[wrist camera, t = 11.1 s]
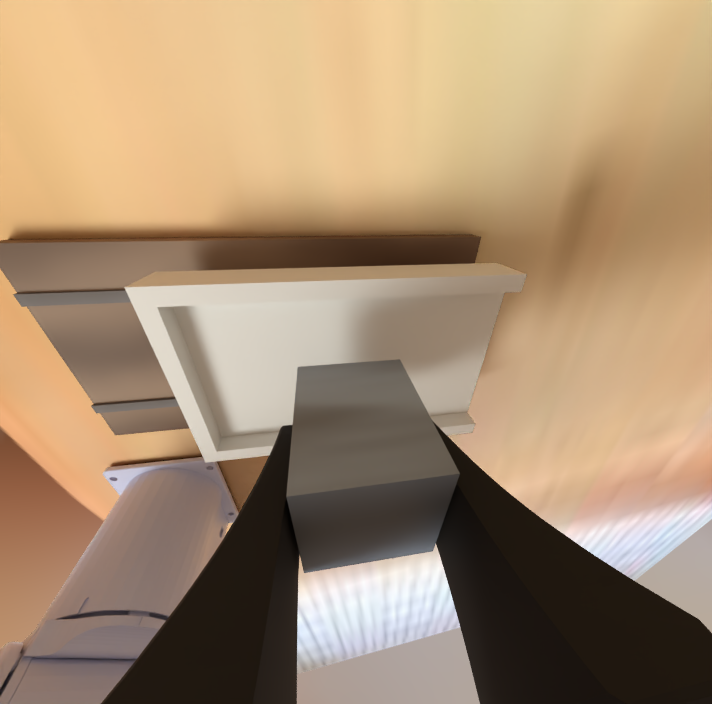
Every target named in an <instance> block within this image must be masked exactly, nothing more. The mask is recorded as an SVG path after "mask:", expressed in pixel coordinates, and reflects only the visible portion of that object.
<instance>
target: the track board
mask: <svg viewBox="0 0 712 704" xmlns="http://www.w3.org/2000/svg"><path fill="white" fill-rule="evenodd" d="M480 239H481V237H479V236H475V235H391V236H303V237H214V238H125V239H37V240H2V241H0V269H1V270H2V271H3V273H4V274H5V276H6V277H7V279H8V280H9V282H10V283H11V285H12V286H13V287H14V289H15V290H16V292H17V293H16V294H13V295H14V296H15V298H16V299H17V301H18V302H19V303H20V305H21V306H22V307H25V306H27V308H28V309H29V311H30V312H31V314H32V315H33V316H34V318H35V319H36V321H37V322H38V324H39V325H40V327H41V328H42V330H43V331H44V332H45V334H46V335H47V337H48V338H49V340H50V341H51V343H52V344H53V346H54V347H55V348H56V350H57V351H58V353H59V354H60V356H61V357H62V359H63V360H64V361H65V363H66V364H67V366H68V367H69V369H70V370H71V372H72V373H73V375H74V376H75V377H76V379H77V380H78V382H79V383H80V385H81V386H82V388H83V389H84V391H85V392H86V393H87V395H88V396H89V398H90V399H91V401H92V402H93V405H92V408H93V409H94V411H95V412H96V413H100V414H101V415H102V417H103V418H104V420H105V421H106V422H107V424H108V425H109V427H110V428H111V430H112V431H113V433H114V434H115V435H123V434H133V433H144V432H154V431H165V430H175V429H186V428H189V426H188V424H187V421H186V419H185V417H184V415H183V413H182V411H181V409H180V406H179V404H178V402H177V400H176V398H175V396H174V393H173V391H172V389H171V387H170V385H169V383H168V380H167V378H166V376H165V374H164V372H163V370H162V368H161V365H160V363H159V361H158V359H157V357H156V355H155V352H154V350H153V348H152V346H151V344H150V342H149V339H148V337H147V335H146V333H145V331H144V329H143V327H142V324H141V322H140V320H139V318H138V316H137V314H136V311H135V309H134V307H133V305H132V303H131V301H130V298H129V296H128V294H127V292H126V290H125V288H124V287H126V286H128V285H130V284H132V283H134V282H136V281H138V280H140V279H142V278H144V277H146V276H148V275H150V274H152V273H154V272H164V271H203V270H241V269H280V268H318V267H357V266H395V265H434V264H472V263H475V260H476V256H477V252H478V247H479V243H480Z"/></svg>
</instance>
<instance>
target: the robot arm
mask: <svg viewBox="0 0 712 704" xmlns="http://www.w3.org/2000/svg"><path fill="white" fill-rule="evenodd" d="M433 423H434V422H433ZM434 425H435V427H436V429H437V431H438V433H439V435H440V437H441V438H442V440H443V442H444V444H445V446H446V448H447V450H448V452H449V454H450V456H451V457H452V459H453V461H454V463H455V465H456V467H457V469H458V471H459V473H460V475H459V478H458V481H457V484H456V487H455V489H454V492H453V495H452V498H451V501H450V504H449V506H448V509H447V512H446V515H445V518H444V521H443V524H442V526H441V529H440V532H439V535H438V538H437V541H436V545H437V548H438V551H439V554H440V557H441V560H442V564H443V567H444V570H445V574H446V577H447V580H448V584H449V587H450V591H451V594H452V598H453V602H454V605H455V609H456V612H457V616H458V619H459V623H460V627H461V631H462V634H463V638H464V642H465V645H466V650H467V653H468V657H469V661H470V665H471V668H472V673H473V677H474V681H475V685H476V689H477V693H478V697H479V701H480V704H712V633H711V632H710V631H709V630H708V629H707V627H706V626H705V625H704V624H703V623H702V622H701V621H700V620H699V619H697V618H696V617H694V616H692V615H691V614H689V613H687V612H685V611H684V610H682V609H680V608H679V607H677V606H675V605H674V604H672V603H670V602H669V601H667V600H665V599H664V598H662V597H660V596H659V595H657V594H655V593H654V592H652V591H650V590H649V589H647V588H645V587H643V586H642V585H640V584H638V583H637V582H635V581H633V580H632V579H630V578H629V577H627V576H625V575H624V574H622V573H621V572H619V571H618V570H616V569H615V568H613V567H611V566H610V565H608V564H607V563H605V562H604V561H602V560H601V559H599V558H597V557H596V556H594V555H593V554H591V553H590V552H588V551H587V550H585V549H584V548H582V547H581V546H580V545H578V544H577V543H575V542H574V541H572V540H571V539H570V538H568V537H567V536H565V535H564V534H563V533H561V532H560V531H558V530H557V529H555V528H554V527H553V526H551V525H550V524H548V523H547V522H545V521H544V520H543V519H541V518H540V517H539V516H537V515H536V514H535V513H533V512H532V511H531V510H529V509H528V508H527V507H526V506H524V505H523V504H522V503H521V502H519V501H518V500H517V499H516V498H514V497H513V496H512V495H511V494H509V493H508V492H507V491H506V490H505V489H503V488H502V487H501V486H500V485H499V484H498V483H496V482H495V481H494V480H493V479H492V478H491V477H490V476H488V475H487V474H486V473H485V472H484V471H483V470H482V469H481V468H480V467H479V466H477V465H476V464H475V463H474V462H473V461H472V460H471V459H470V458H469V457H468V456H467V455H466V454H465V453H464V452H463V451H462V450H461V449H460V448H459V447H458V446H457V445H456V444H455V443H454V442H453V441H452V440H451V439H450V438H449V437H448V436H447V435H446V434H445V433H444V432H443V431H442V430H441V429H440V428H439V427H438V426H437V425H436V424H435V423H434ZM292 426H293V425H285V426H282V427H281V428H280V431H279V434H278V436H277V439H276V441H275V444H274V446H273V449H272V451H271V453H270V455H269V457H268V460H267V462H266V464H265V466H264V468H263V470H262V472H261V474H260V476H259V478H258V480H257V482H256V484H255V486H254V487H253V489H252V491H251V493H250V495H249V496H248V498H247V500H246V502H245V504H244V505H243V507H242V509H241V511H240V512H238V510H237V508H236V505H235V503H234V501H233V498H232V496H231V494H230V491H229V489H228V487H227V484H226V482H225V480H224V477H223V475H222V473H221V470H220V468H219V466H218V463H217V461H216V462H207V463H205V460H204V458H203V457H197V458H188V459H178V460H169V461H160V462H151V463H142V464H133V465H123V466H114V467H108V468H106V470H105V471H104V472H103V475H104V477H105V478H106V479H107V480H108V482H109V483H110V484H111V485H112V487H113V488H114V489H115V490H116V491H117V493H118V494H119V495H120V497H119V499H118V500H117V502H116V503H115V505H114V506H113V508H112V510H111V511H110V513H109V514H108V516H107V517H106V519H105V521H104V522H103V524H102V525H101V527H100V528H99V530H98V532H97V533H96V535H95V536H94V538H93V540H92V541H91V543H90V544H89V546H88V547H87V549H86V550H85V552H84V554H83V555H82V557H81V558H80V560H79V562H78V563H77V565H76V566H75V568H74V569H73V571H72V572H71V574H70V576H69V577H68V579H67V580H66V582H65V583H64V585H63V587H62V588H61V590H60V591H59V593H58V594H57V596H56V598H55V599H54V601H53V602H52V604H51V605H50V607H49V609H48V610H47V612H46V613H45V615H44V617H43V618H42V620H41V621H40V623H39V624H38V626H37V627H36V629H35V630H34V631H33V633H31V634H30V635H29V636H28V637H27V638H26V639H25V640H24V641H23V642H8V643H7V644H5V645H4V646H3V647H2V648H1V649H0V704H297V701H296V698H297V693H296V692H297V691H296V690H297V607H298V569H299V555H300V553H299V549H298V544H297V540H296V536H295V531H294V527H293V523H292V519H291V514H290V510H289V506H288V502H287V497H286V495H287V484H288V472H289V461H290V449H291V438H292ZM232 522H234V523H233V524H232V526H231V527H230V529H229V531H228V532H227V534H226V535H225V533H226V529H227V526H228V523H232Z"/></svg>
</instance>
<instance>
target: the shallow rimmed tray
mask: <svg viewBox="0 0 712 704" xmlns="http://www.w3.org/2000/svg"><path fill="white" fill-rule="evenodd" d="M526 276H527V274H525V273H523V272H520V271H517V270H515V269H512V268H509V267H507V266H504V265H501V264H499V263H472V264H434V265H395V266H357V267H318V268H280V269H241V270H203V271H164V272H154V273H152V274H150V275H148V276H146V277H144V278H142V279H140V280H138V281H136V282H134V283H132V284H130V285H128V286H126V287H124V288H125V290H126V292H127V294H128V296H129V298H130V301H131V303H132V305H133V307H134V309H135V311H136V314H137V316H138V318H139V320H140V322H141V324H142V327H143V329H144V331H145V333H146V335H147V337H148V339H149V342H150V344H151V346H152V348H153V350H154V352H155V355H156V357H157V359H158V361H159V363H160V365H161V368H162V370H163V372H164V374H165V376H166V378H167V380H168V383H169V385H170V387H171V389H172V391H173V393H174V396H175V398H176V400H177V402H178V404H179V406H180V409H181V411H182V413H183V415H184V417H185V419H186V421H187V424H188V426H189V428H190V430H191V432H192V434H193V437H194V439H195V441H196V443H197V445H198V447H199V450H200V452H201V454H202V456H203V458H204V460H205V463H207V462H216V461H225V460H233V459H242V458H251V457H260V456H269V455H270V453H271V451H272V449H273V446H274V444H275V441H276V439H277V436H278V434H279V431H280V428H281V427H282V426H285V425H293V415H294V403H295V392H296V380H297V369H298V367H301V366H315V365H329V364H342V363H356V362H370V361H383V360H397V359H400V360H401V362H402V364H403V366H404V368H405V370H406V372H407V374H408V376H409V378H410V379H411V381H412V383H413V385H414V387H415V389H416V391H417V393H418V395H419V397H420V398H421V400H422V402H423V404H424V406H425V408H426V410H427V412H428V414H429V416H430V417H431V419H432V421H433V422H434V423H435V424H436V425H437V426H438V427H439V428H440V429H441V430H442V431H443V432H444V433H445V434H446V435H447V436H448V435H457V434H465V433H472V432H473V429H474V426H475V423H474V421H473V420H472V418H471V417H470V416H469V414H468V413H467V412H468V408H469V405H470V402H471V399H472V396H473V392H474V389H475V386H476V383H477V380H478V377H479V373H480V370H481V367H482V364H483V361H484V357H485V354H486V351H487V348H488V345H489V341H490V338H491V335H492V332H493V329H494V326H495V322H496V319H497V316H498V313H499V310H500V306H501V303H502V300H503V297H504V294H505V293H511V292H521V291H522V288H523V285H524V282H525V279H526Z"/></svg>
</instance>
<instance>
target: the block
mask: <svg viewBox="0 0 712 704" xmlns="http://www.w3.org/2000/svg"><path fill="white" fill-rule="evenodd" d="M459 475H460V473H459V471H458V469H457V467H456V465H455V463H454V461H453V459H452V457H451V456H450V454H449V452H448V450H447V448H446V446H445V444H444V442H443V440H442V438H441V437H440V435H439V433H438V431H437V429H436V427H435V425H434V423H433V421H432V419H431V417H430V416H429V414H428V412H427V410H426V408H425V406H424V404H423V402H422V400H421V398H420V397H419V395H418V393H417V391H416V389H415V387H414V385H413V383H412V381H411V379H410V378H409V376H408V374H407V372H406V370H405V368H404V366H403V364H402V362H401V360H400V359H397V360H383V361H370V362H356V363H342V364H329V365H315V366H301V367H298V369H297V380H296V392H295V403H294V415H293V426H292V438H291V449H290V461H289V472H288V484H287V495H286V497H287V502H288V506H289V510H290V514H291V519H292V523H293V527H294V531H295V536H296V540H297V544H298V549H299V553H300V557H301V561H302V566H303V570H304V573H307V572H313V571H319V570H325V569H331V568H337V567H342V566H348V565H354V564H360V563H366V562H372V561H378V560H384V559H390V558H395V557H401V556H407V555H413V554H419V553H425V552H431V551H433V549H434V546H435V544H436V541H437V538H438V535H439V532H440V529H441V526H442V524H443V521H444V518H445V515H446V512H447V509H448V506H449V504H450V501H451V498H452V495H453V492H454V489H455V487H456V484H457V481H458V478H459Z"/></svg>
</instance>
